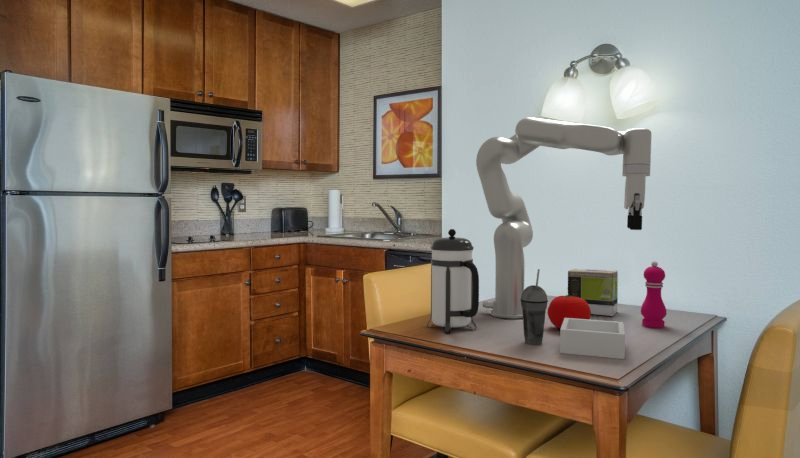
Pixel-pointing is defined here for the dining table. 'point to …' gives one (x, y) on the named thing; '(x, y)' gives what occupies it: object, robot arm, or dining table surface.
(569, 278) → the tea box
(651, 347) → the dining table surface
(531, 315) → the beverage cup
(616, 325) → the box
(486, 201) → the robot arm
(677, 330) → the dining table surface
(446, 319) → the coffee press
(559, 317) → the tomato
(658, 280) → the pepper mill
